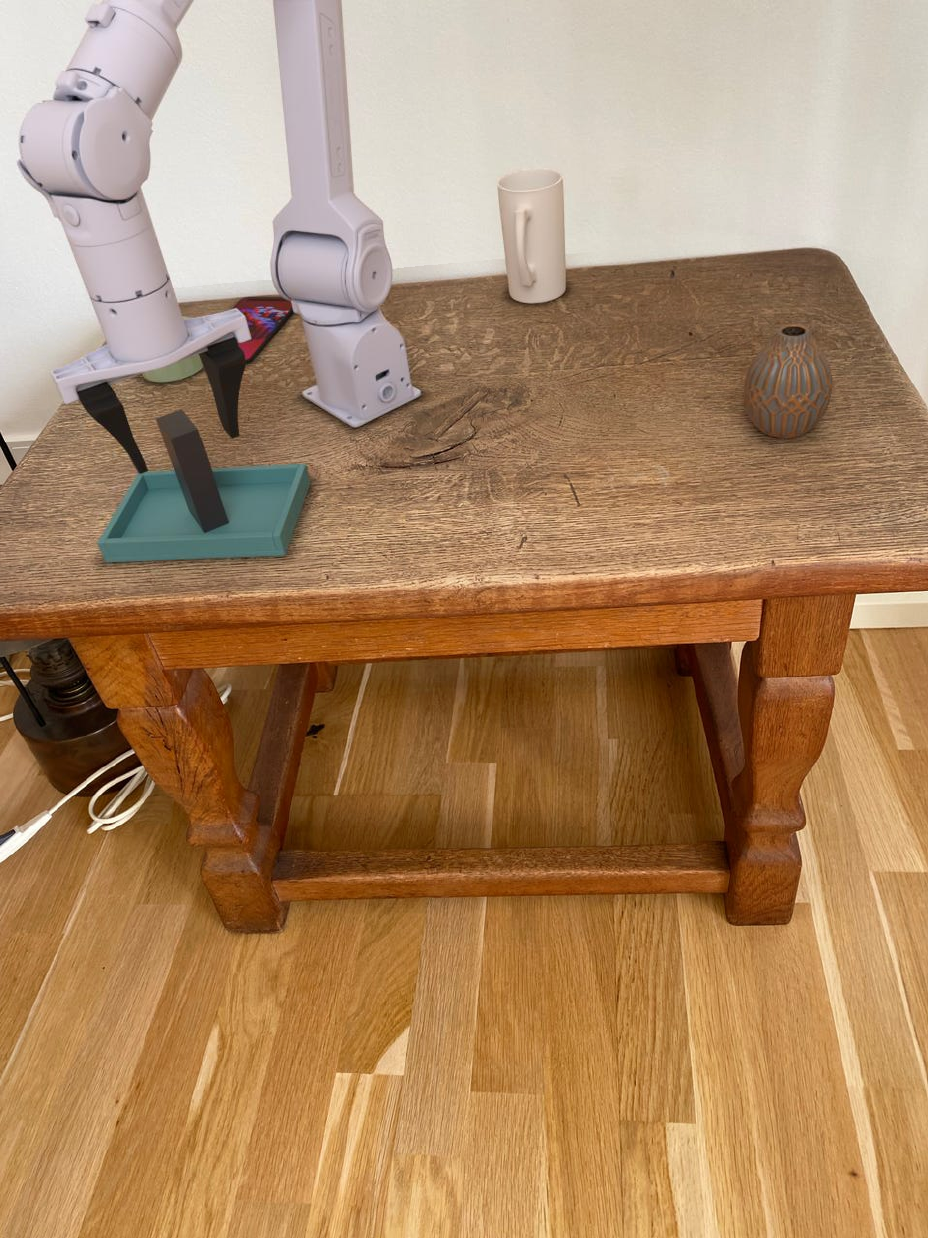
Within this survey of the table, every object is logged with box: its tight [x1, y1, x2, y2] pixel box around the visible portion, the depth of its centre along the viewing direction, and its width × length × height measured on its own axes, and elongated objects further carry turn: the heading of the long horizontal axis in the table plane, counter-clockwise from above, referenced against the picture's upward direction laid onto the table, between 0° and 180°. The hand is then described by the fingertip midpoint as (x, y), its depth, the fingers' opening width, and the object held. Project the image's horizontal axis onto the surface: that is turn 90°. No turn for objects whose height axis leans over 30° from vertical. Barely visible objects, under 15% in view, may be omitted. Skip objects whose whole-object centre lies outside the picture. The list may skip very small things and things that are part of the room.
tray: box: [96, 462, 312, 563], centre depth 84 cm, size 15×10×2 cm
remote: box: [155, 409, 229, 533], centre depth 81 cm, size 2×4×9 cm, turn 30°
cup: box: [141, 315, 204, 383], centre depth 106 cm, size 7×7×4 cm
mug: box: [496, 167, 567, 304], centre depth 106 cm, size 10×7×12 cm, turn 165°
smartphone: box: [232, 296, 295, 365], centre depth 112 cm, size 8×1×15 cm
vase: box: [743, 323, 833, 439], centre depth 83 cm, size 7×7×9 cm
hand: (186, 449), depth 80 cm, fingers open, 7 cm apart
